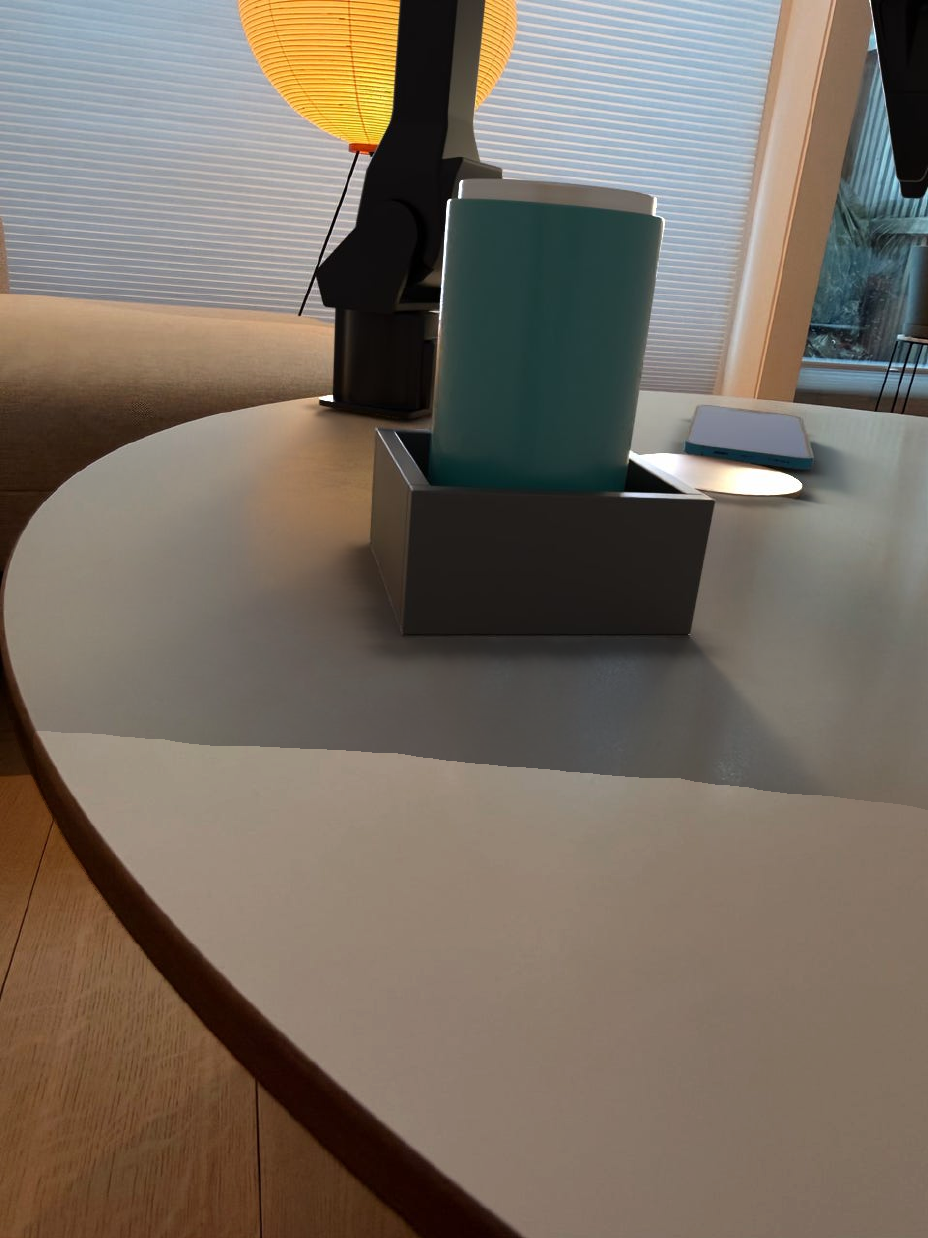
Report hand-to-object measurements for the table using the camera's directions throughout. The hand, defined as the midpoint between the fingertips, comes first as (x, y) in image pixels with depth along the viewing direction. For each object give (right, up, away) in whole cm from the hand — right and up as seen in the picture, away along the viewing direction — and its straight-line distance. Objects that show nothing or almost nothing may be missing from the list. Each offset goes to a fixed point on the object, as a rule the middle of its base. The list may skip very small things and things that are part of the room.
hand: (911, 190), depth 45 cm
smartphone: (-3, -9, +15) cm, 18 cm away
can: (-20, -20, -15) cm, 32 cm away
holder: (-20, -20, -15) cm, 32 cm away
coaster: (-9, -13, +4) cm, 16 cm away
